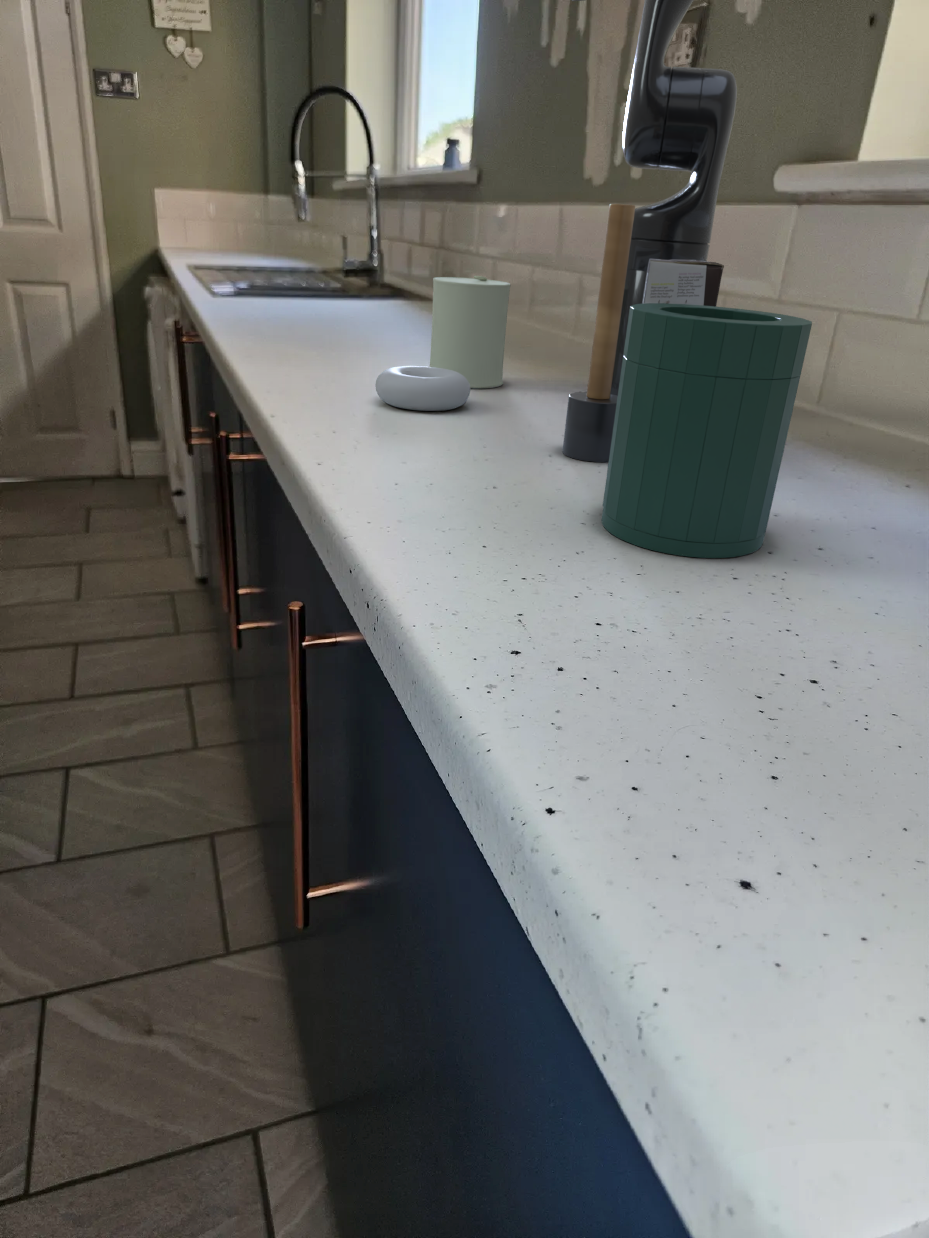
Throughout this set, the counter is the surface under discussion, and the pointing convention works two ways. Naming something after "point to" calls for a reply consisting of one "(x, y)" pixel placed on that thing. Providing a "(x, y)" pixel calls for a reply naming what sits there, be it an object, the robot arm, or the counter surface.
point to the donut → (422, 388)
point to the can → (470, 328)
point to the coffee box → (682, 282)
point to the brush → (602, 349)
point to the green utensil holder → (701, 427)
